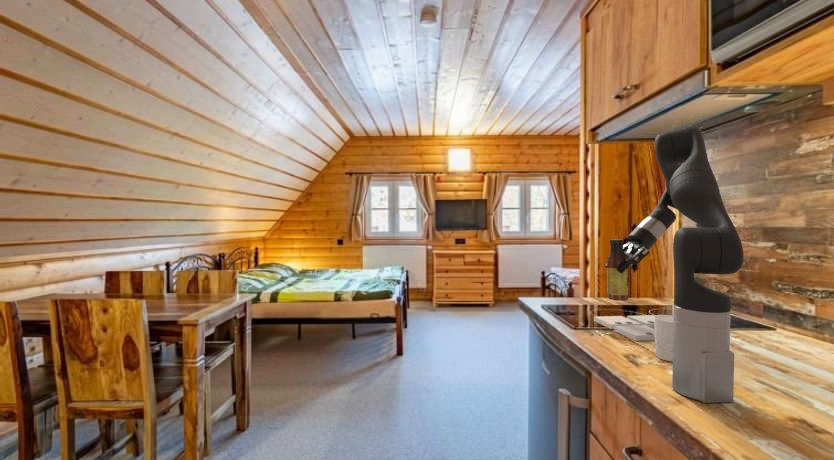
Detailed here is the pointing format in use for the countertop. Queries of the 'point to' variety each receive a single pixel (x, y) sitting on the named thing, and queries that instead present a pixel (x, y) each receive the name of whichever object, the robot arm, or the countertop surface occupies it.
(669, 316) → the white cup
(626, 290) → the sauce bottle
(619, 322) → the tile two
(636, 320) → the tile three
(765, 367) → the countertop surface
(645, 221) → the robot arm
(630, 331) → the tile one
